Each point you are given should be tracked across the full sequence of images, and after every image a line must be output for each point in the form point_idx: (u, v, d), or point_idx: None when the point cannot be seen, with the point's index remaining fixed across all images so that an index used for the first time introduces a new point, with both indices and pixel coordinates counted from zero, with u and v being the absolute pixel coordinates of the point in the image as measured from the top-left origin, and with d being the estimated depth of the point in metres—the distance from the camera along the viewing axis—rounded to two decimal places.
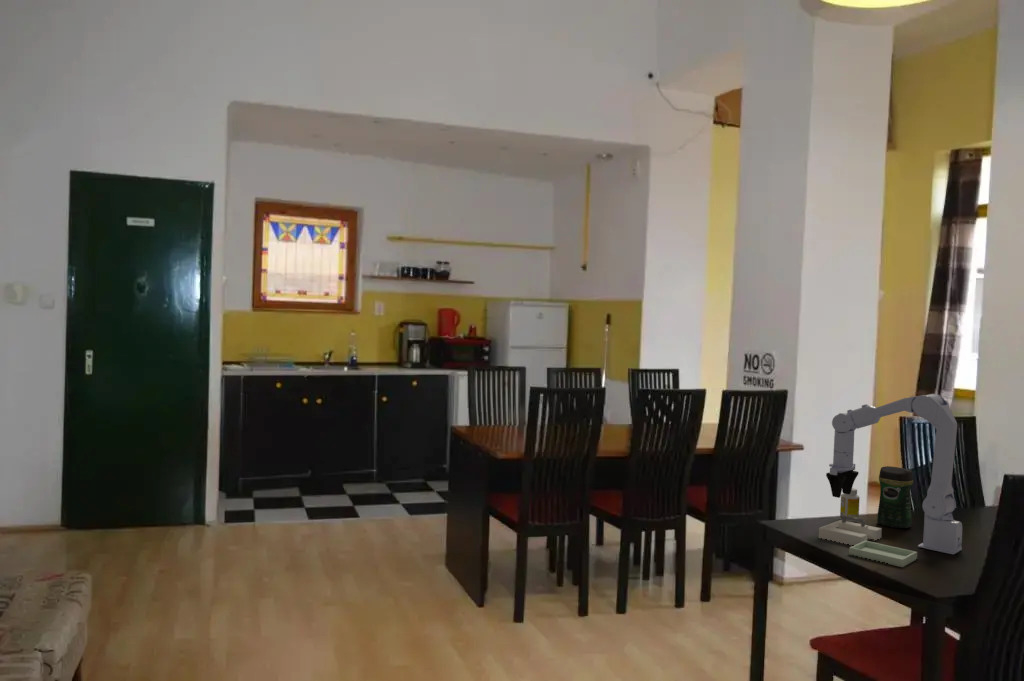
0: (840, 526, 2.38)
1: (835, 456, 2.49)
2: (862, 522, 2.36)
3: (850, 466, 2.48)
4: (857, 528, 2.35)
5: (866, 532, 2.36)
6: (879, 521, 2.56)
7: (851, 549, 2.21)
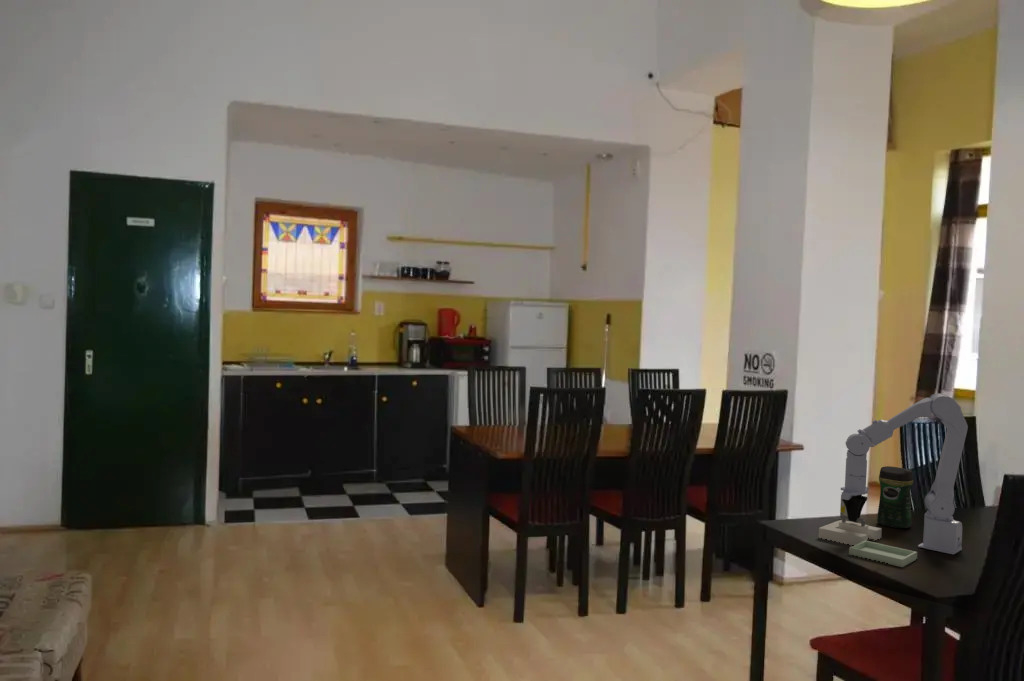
0: (840, 525, 2.38)
1: (847, 479, 2.37)
2: (862, 522, 2.36)
3: (863, 490, 2.35)
4: (857, 528, 2.35)
5: (866, 532, 2.36)
6: (879, 521, 2.56)
7: (851, 549, 2.21)
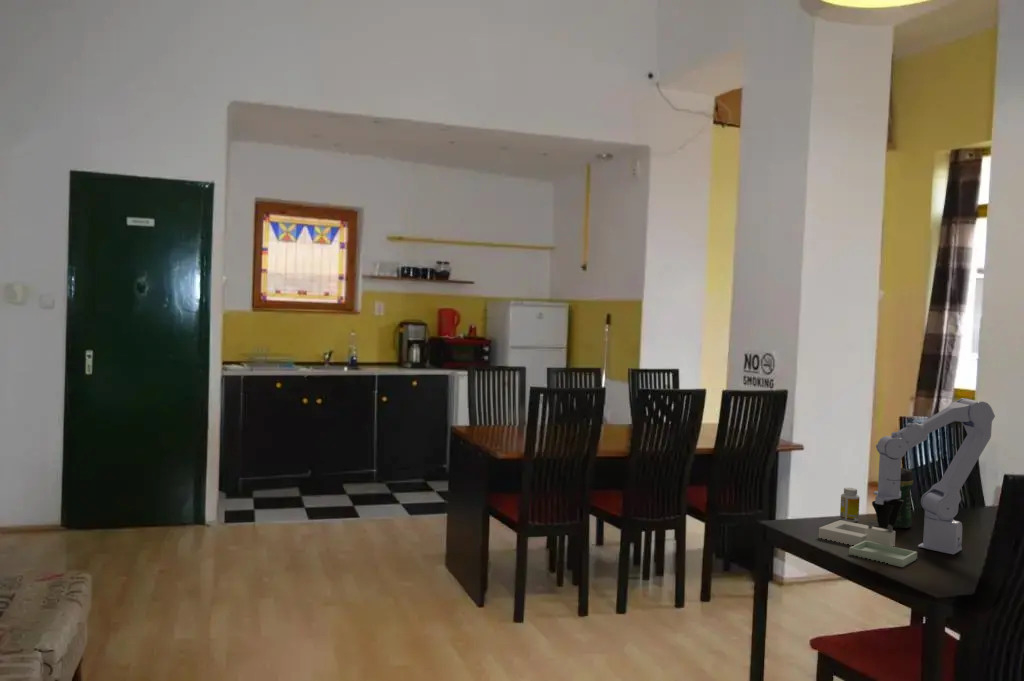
0: (866, 532, 2.33)
1: (880, 483, 2.30)
2: (889, 528, 2.30)
3: (897, 494, 2.28)
4: (884, 534, 2.30)
5: (893, 538, 2.31)
6: None
7: (851, 549, 2.21)
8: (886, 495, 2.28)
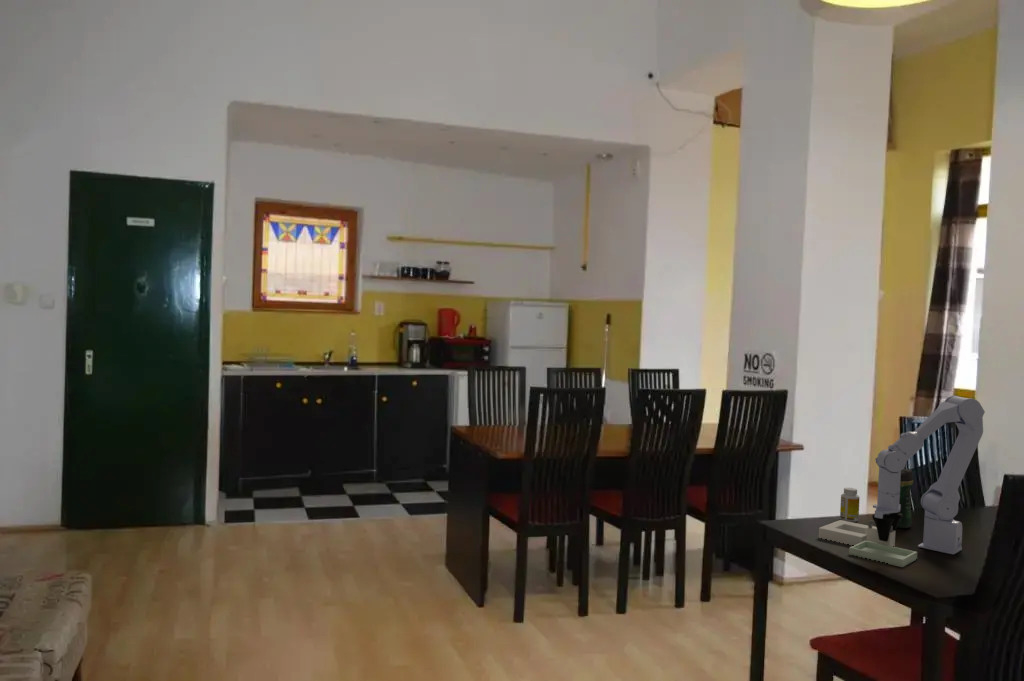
0: (866, 531, 2.33)
1: (880, 497, 2.30)
2: None
3: (896, 508, 2.28)
4: None
5: (893, 537, 2.31)
6: None
7: (851, 549, 2.21)
8: (885, 509, 2.29)
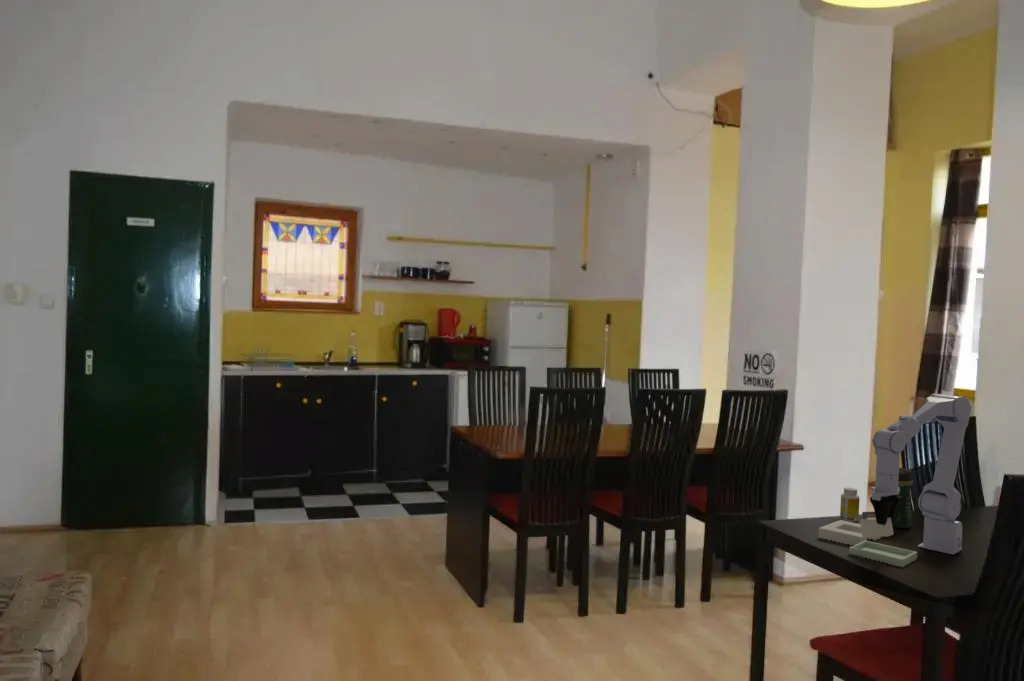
0: (862, 523, 2.24)
1: (878, 479, 2.20)
2: None
3: (895, 490, 2.18)
4: None
5: (890, 524, 2.21)
6: None
7: (851, 549, 2.21)
8: (883, 491, 2.19)
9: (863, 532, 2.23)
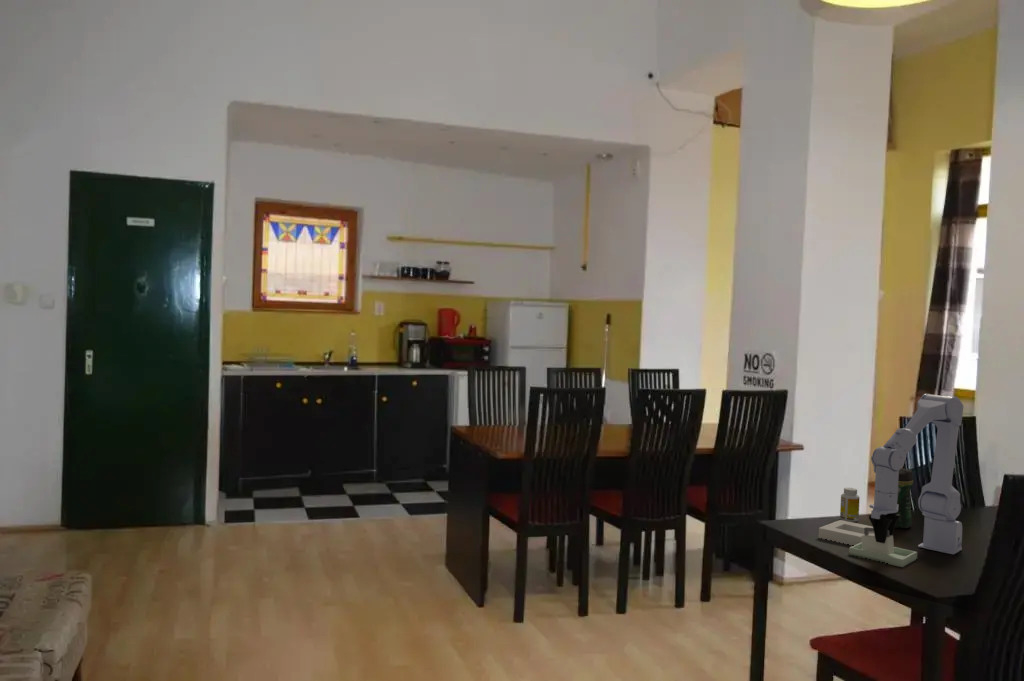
0: (863, 539, 2.22)
1: (877, 496, 2.19)
2: None
3: (894, 508, 2.17)
4: None
5: (892, 542, 2.20)
6: None
7: (851, 549, 2.21)
8: (883, 509, 2.17)
9: (864, 548, 2.22)
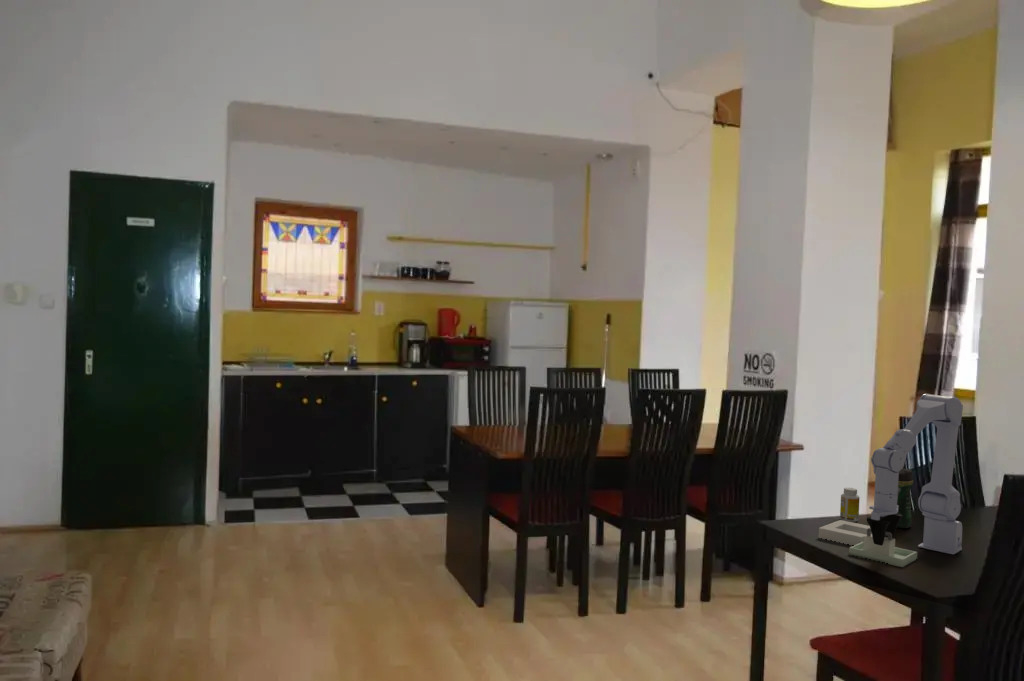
0: (865, 539, 2.22)
1: (877, 498, 2.19)
2: (889, 535, 2.19)
3: (894, 509, 2.17)
4: (884, 542, 2.18)
5: (893, 546, 2.19)
6: None
7: (851, 549, 2.21)
8: (882, 510, 2.18)
9: (864, 548, 2.22)
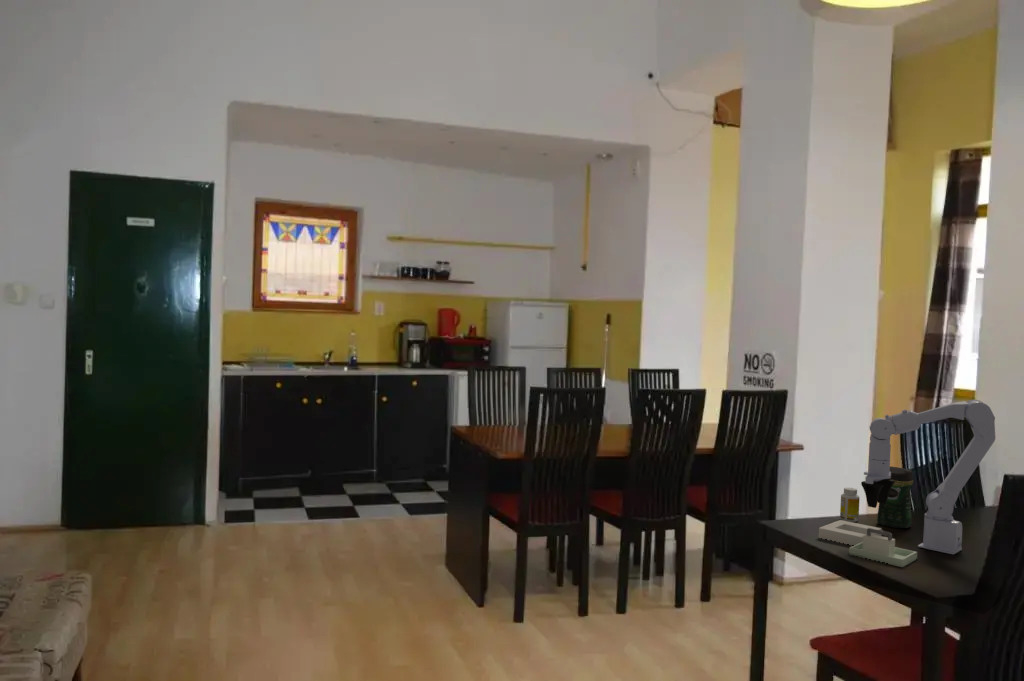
0: (865, 539, 2.22)
1: (870, 464, 2.36)
2: (889, 535, 2.19)
3: (887, 474, 2.34)
4: (884, 542, 2.18)
5: (893, 546, 2.19)
6: (879, 521, 2.56)
7: (851, 549, 2.21)
8: (876, 475, 2.34)
9: (864, 548, 2.22)
